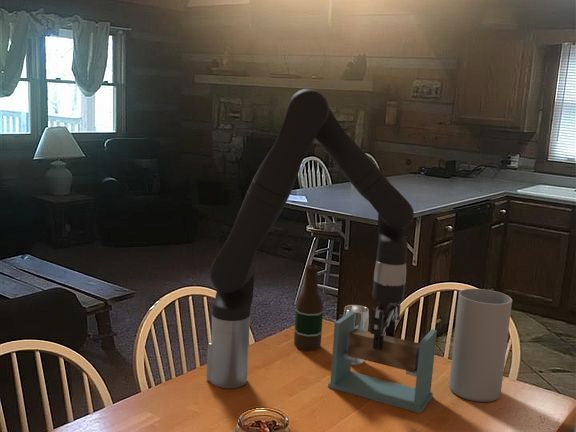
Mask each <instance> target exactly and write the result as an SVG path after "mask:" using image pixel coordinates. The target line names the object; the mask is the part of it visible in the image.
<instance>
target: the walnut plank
mask: <svg viewBox="0 0 576 432" xmlns="http://www.w3.org/2000/svg"><path fill="white" fill-rule="evenodd" d="M373 341H374V334H371V333H370V331H363V330H359V329H354V330H352V331H351V332H350V333H349V346H348V356H351V357H355V358H359V359H363V360H364V361H368V362H372V363H375V364H378V365H379V364H380V365H384V366H386V367H391V368H395V369H400V370H403V371H406V370H407V371H411V372H415V371H416V370H417V368H418V357H419V347H420V342H415V341H412V340H411V341H410V340H407V339H403V338H398V337H395V336H394V337H390V336H385V334H384V340H383V349H382V350H381V351H379V350H375V349H373Z"/></svg>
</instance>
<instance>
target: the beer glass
mask: <svg viewBox="0 0 576 432" xmlns="http://www.w3.org/2000/svg"><path fill="white" fill-rule="evenodd" d="M349 312H355V318H354V329H359V330H363V331H368V330H369V322H370V320H369V318H370V316H369V315H370V314H369V312H370V310H369V308H368V307H366V306H364V305H359V304H348V305H345V307H344V311H343V316H345V315H346V314H348V313H349ZM368 332H369V331H368ZM364 361H365V360H363V359H358V358H357V360H356V361H353V360H351V366H359V365H362V364H363V363H364Z"/></svg>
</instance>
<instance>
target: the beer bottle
mask: <svg viewBox="0 0 576 432" xmlns="http://www.w3.org/2000/svg"><path fill="white" fill-rule="evenodd" d="M305 270H306V271H305V279H304V286H303V291H302V293H301V294H300V296H298V299H297V302H296V306H295V319H294V320H295V322H294V337H293V338H294V340H293V343H294V346H295V347H296V348H297V349H298V350H302V351H306V352H310V350H313V351H317V350H318V349H319V348H320V347H321V345H322V344H321V343H322V332H323V315H324V305H323V301H322V298H321V296H320V294H319V289H318V271H319V270H320V269H319V266H318V265H316V264H308V265H306V266H305ZM316 349H317V350H316Z"/></svg>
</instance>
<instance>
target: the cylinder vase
mask: <svg viewBox="0 0 576 432" xmlns="http://www.w3.org/2000/svg"><path fill="white" fill-rule="evenodd" d="M457 298H458V299H457V305H456V316H455V324H454V326H455V327H454V334H453V345H452V354H451V363H450V364H451V365H450V372H449V383H448V385H449V389H450V390H451V392H453V394H455V395H456V396H458V397H460V398H462V399H464V400H468V401H472V402H478V403H489V402H494V401H496V400H498V399H499V398H500V397H501V394H502V387H503V385H502V384H503V381H504V380H503V379H504V373H505V372H504V369H505V362H506V355H507V347H508V338H509V337H508V336H509V330H510V322H511V313H512V305H513V298H511V297H510V296H509V295H507V294H505V293H502V292H500V291H495V290H491V289H486V288H483V289H482V288H464V289H461V290H459V291H458V297H457Z"/></svg>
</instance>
